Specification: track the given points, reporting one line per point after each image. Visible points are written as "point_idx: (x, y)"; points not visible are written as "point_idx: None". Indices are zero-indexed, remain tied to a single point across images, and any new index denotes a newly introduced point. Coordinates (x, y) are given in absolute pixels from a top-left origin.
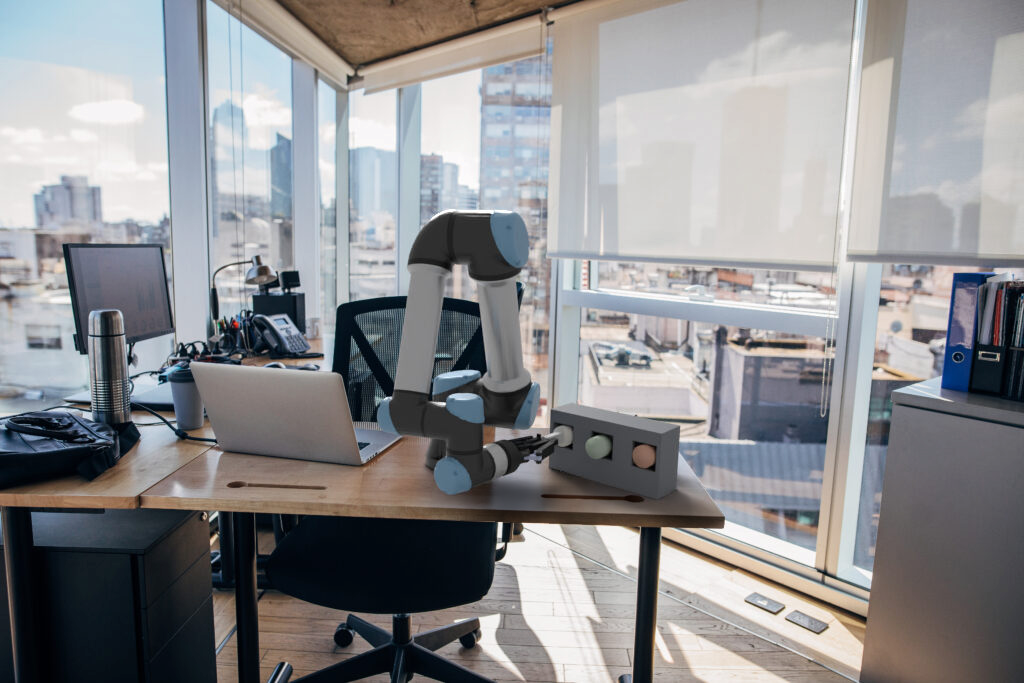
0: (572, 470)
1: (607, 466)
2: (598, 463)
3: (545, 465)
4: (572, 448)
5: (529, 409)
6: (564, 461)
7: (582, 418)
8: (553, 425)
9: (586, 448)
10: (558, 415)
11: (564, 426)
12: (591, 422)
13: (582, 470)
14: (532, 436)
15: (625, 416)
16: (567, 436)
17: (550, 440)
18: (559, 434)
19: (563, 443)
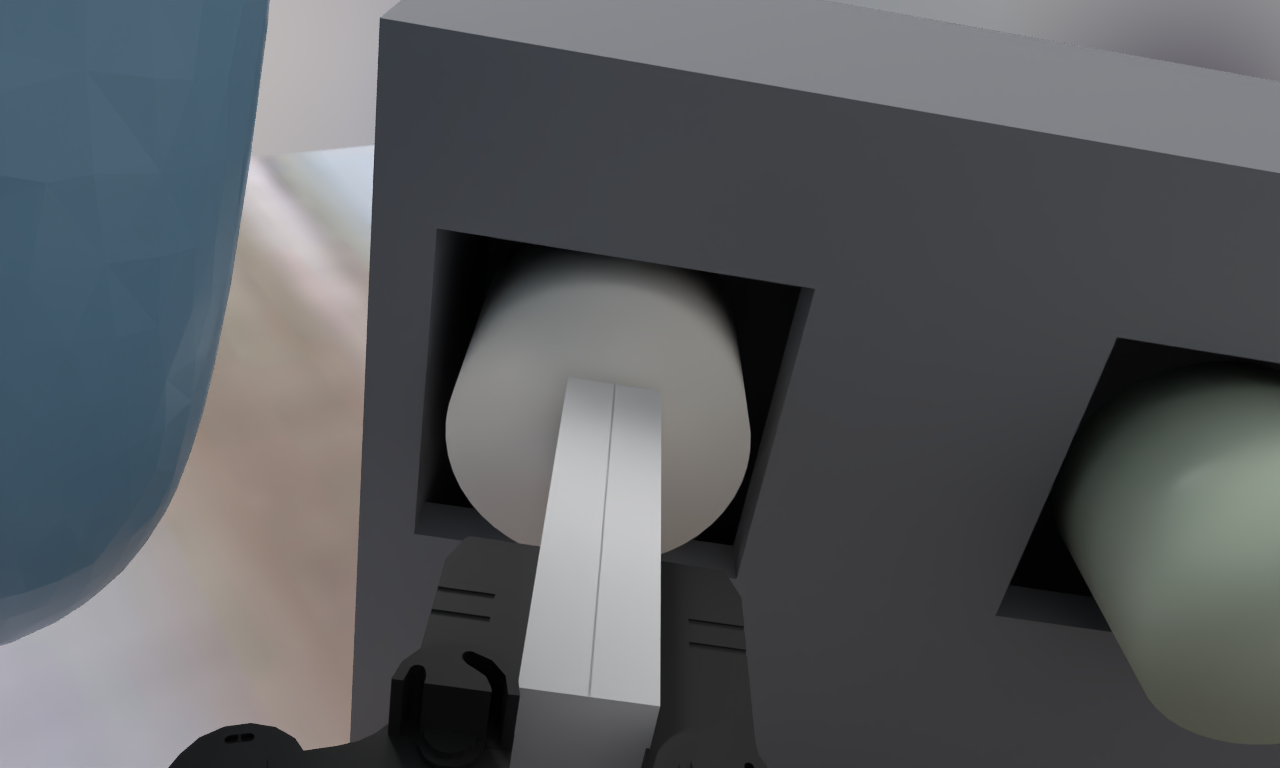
0: None
1: None
2: (1086, 687)
3: (284, 713)
4: None
5: (216, 43)
6: None
7: (1011, 166)
8: (434, 284)
9: (1154, 633)
10: (542, 127)
11: (647, 295)
12: (1165, 224)
13: (838, 757)
14: (280, 758)
15: (1269, 94)
16: (713, 438)
17: (696, 711)
18: (658, 459)
19: None
